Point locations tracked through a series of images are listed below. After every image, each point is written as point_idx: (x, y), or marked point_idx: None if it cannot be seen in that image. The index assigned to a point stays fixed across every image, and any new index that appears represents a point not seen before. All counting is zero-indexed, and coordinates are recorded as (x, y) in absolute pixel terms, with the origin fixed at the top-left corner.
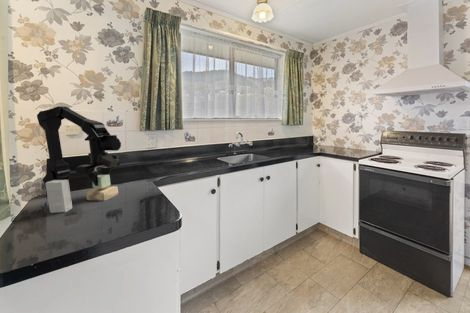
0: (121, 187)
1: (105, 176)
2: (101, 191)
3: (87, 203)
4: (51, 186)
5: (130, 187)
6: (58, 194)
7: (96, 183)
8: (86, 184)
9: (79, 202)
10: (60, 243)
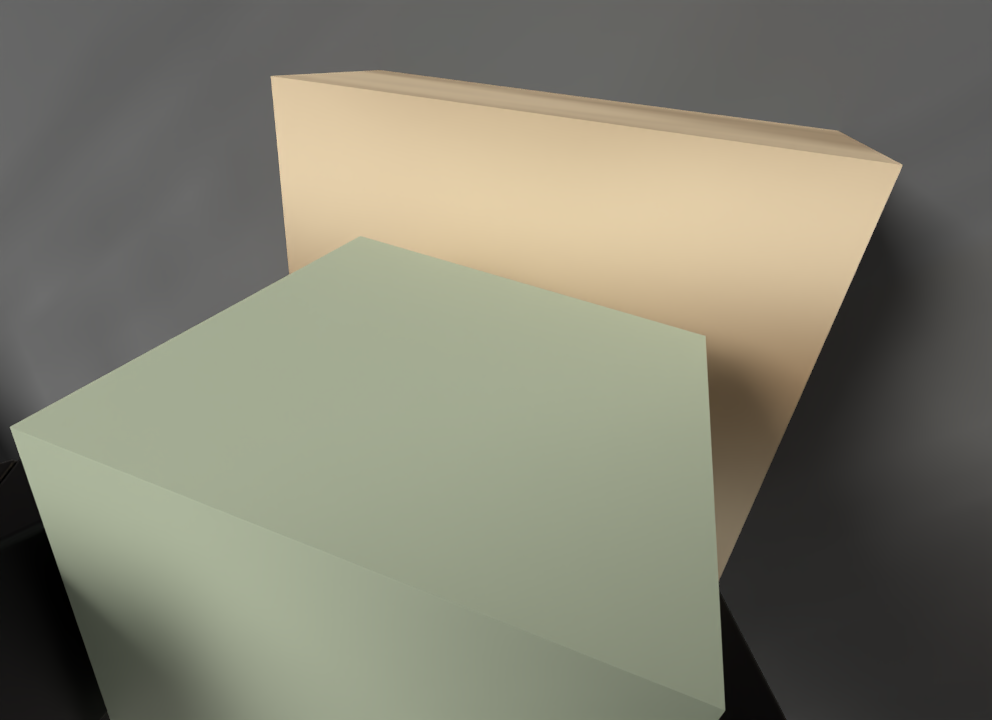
0: (71, 255)
1: (325, 514)
2: (745, 298)
3: (968, 403)
4: None
5: (3, 71)
6: None
7: None
8: None
9: (841, 550)
10: None
